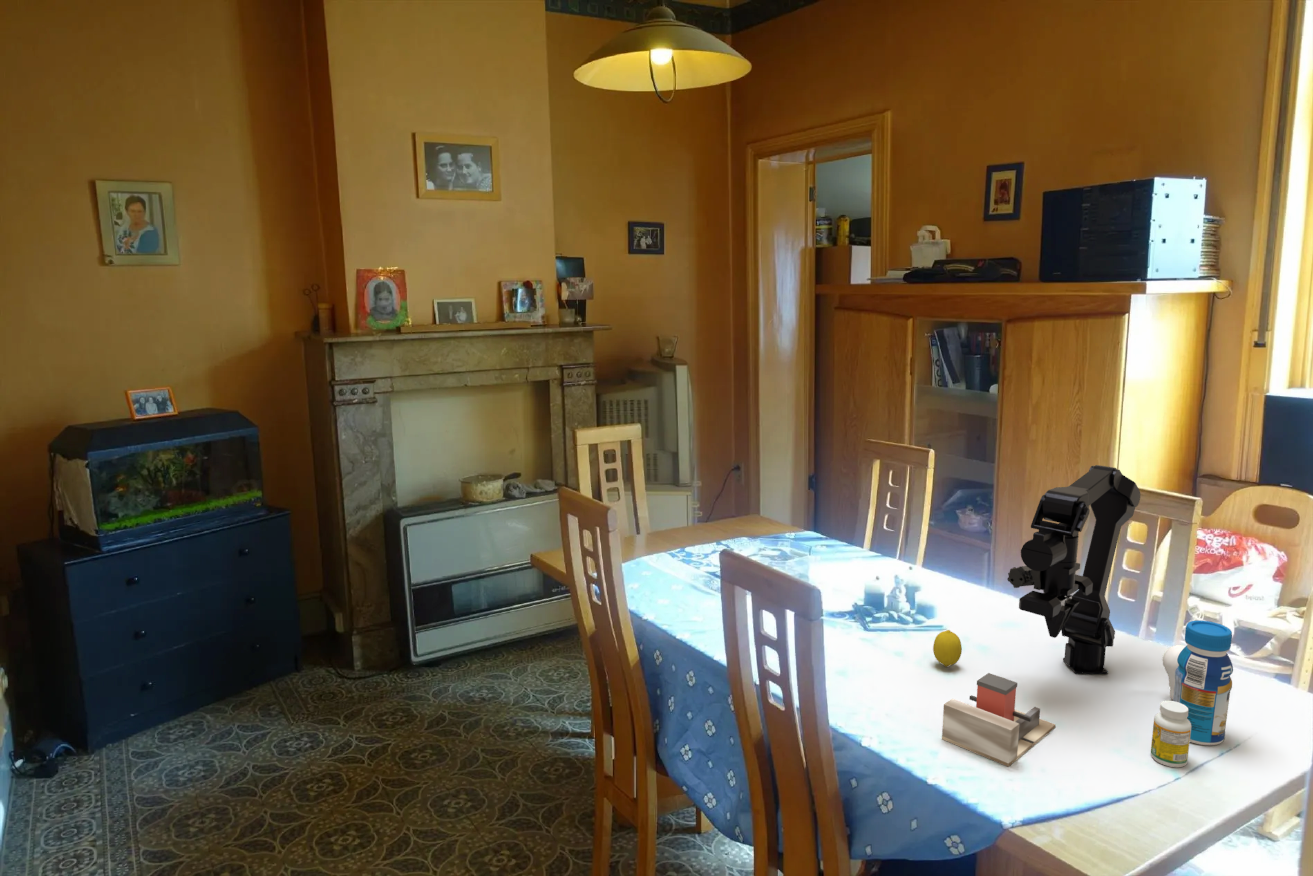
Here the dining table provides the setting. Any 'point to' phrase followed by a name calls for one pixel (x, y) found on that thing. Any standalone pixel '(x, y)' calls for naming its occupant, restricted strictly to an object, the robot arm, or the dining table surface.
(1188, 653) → the beverage bottle
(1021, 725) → the beige base board
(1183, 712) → the supplement bottle
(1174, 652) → the lightbulb
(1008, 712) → the red plug
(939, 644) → the lemon
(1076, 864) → the dining table surface
